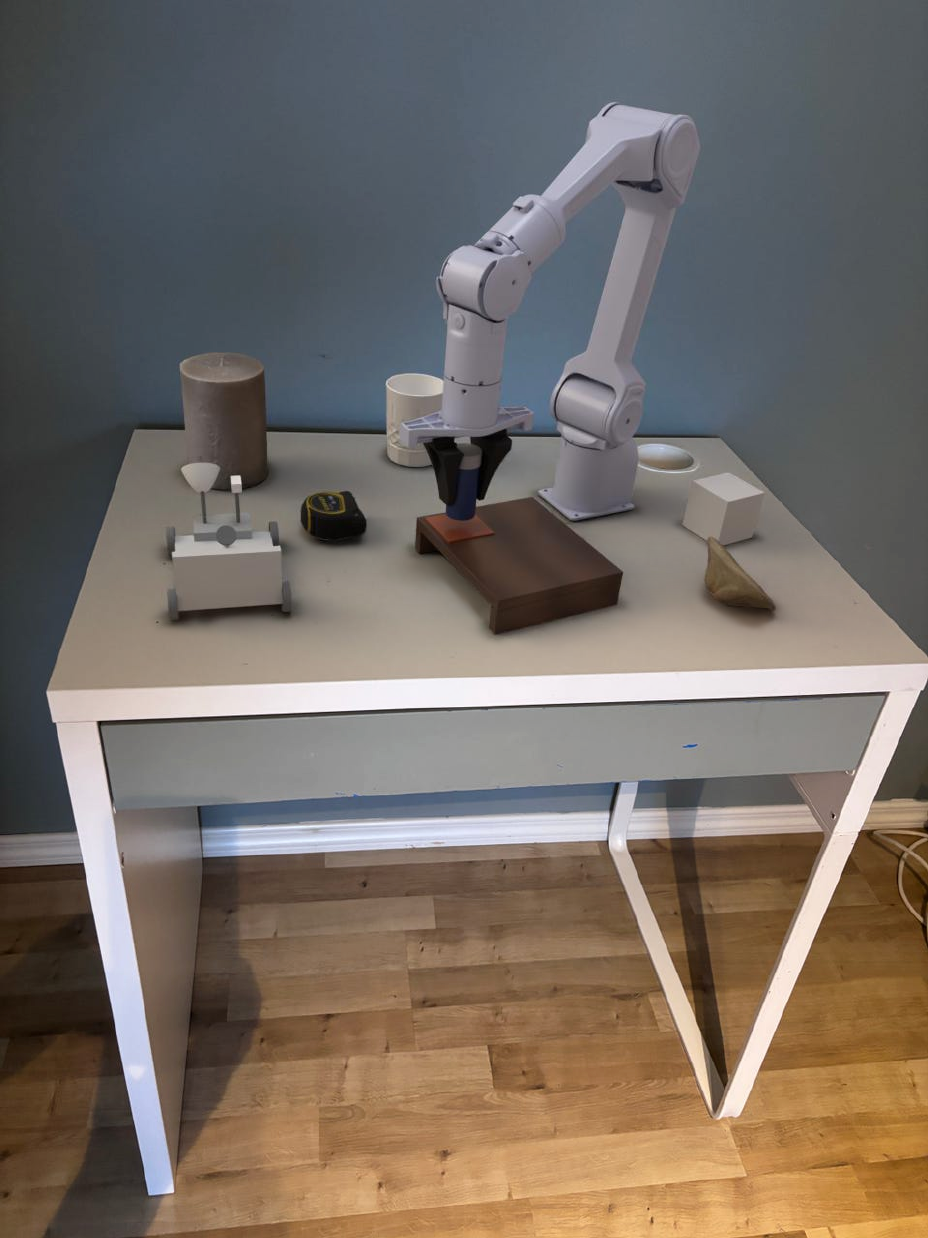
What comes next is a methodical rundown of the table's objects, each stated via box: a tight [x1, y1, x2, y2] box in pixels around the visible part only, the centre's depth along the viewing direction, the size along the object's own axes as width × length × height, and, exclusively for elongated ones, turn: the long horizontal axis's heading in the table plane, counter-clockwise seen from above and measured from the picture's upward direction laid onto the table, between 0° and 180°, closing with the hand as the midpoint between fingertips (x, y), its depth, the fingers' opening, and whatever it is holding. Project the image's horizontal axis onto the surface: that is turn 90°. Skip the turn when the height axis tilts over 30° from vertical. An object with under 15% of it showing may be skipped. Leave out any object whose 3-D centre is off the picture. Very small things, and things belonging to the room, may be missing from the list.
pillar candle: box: [179, 352, 269, 491], centre depth 118 cm, size 10×10×15 cm
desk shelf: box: [414, 496, 624, 635], centre depth 106 cm, size 15×18×4 cm
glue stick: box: [445, 442, 482, 521], centre depth 104 cm, size 3×3×8 cm
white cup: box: [385, 373, 444, 468], centre depth 127 cm, size 8×8×10 cm
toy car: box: [165, 456, 293, 621], centre depth 100 cm, size 18×10×12 cm
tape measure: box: [300, 490, 367, 541], centre depth 111 cm, size 7×7×4 cm
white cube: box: [682, 471, 765, 546], centre depth 118 cm, size 6×6×6 cm
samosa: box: [703, 536, 777, 611], centre depth 105 cm, size 9×4×10 cm
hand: (461, 498), depth 105 cm, fingers closed on glue stick, 3 cm apart
